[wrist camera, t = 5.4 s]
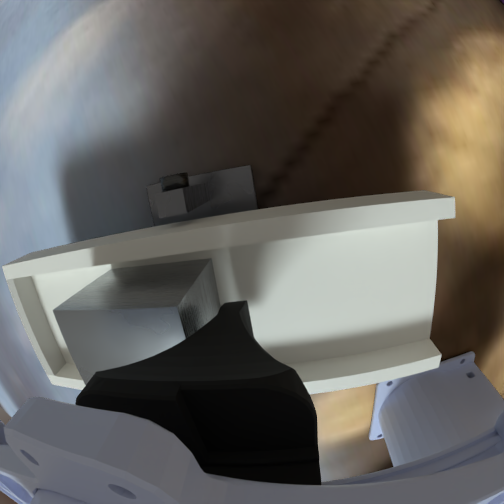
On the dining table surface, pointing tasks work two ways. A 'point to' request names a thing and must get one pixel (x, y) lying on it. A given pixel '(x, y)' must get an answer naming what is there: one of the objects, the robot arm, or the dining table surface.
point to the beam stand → (202, 195)
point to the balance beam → (277, 283)
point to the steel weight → (136, 313)
